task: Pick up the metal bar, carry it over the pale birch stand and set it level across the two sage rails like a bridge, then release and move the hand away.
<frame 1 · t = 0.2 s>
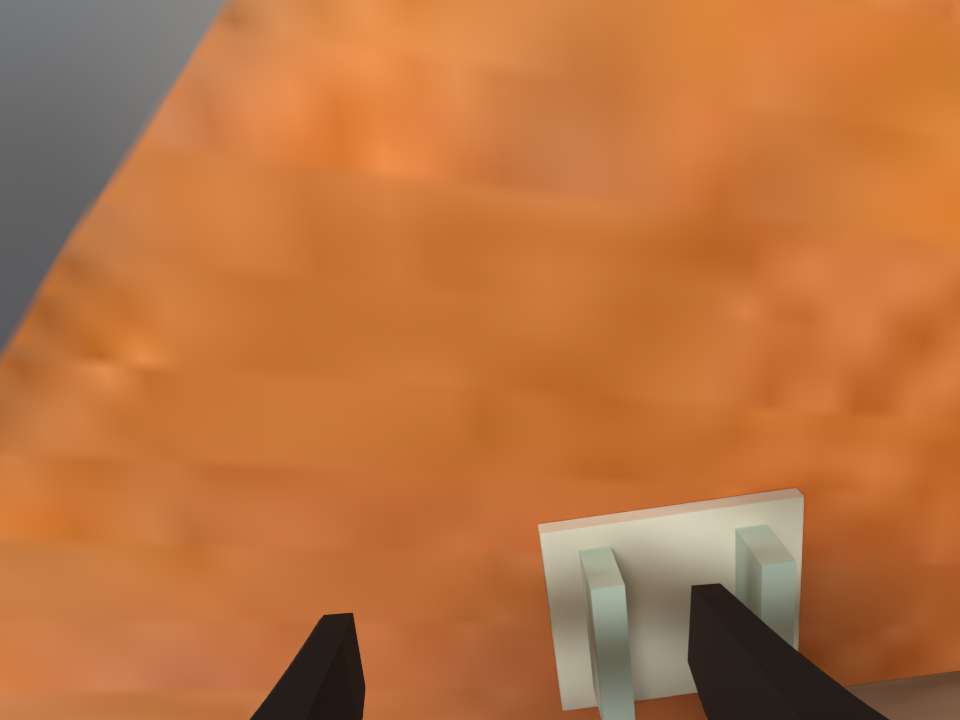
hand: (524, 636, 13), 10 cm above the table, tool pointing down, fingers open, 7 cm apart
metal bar: (851, 713, 28), on the table
rail stand: (670, 599, 25), on the table
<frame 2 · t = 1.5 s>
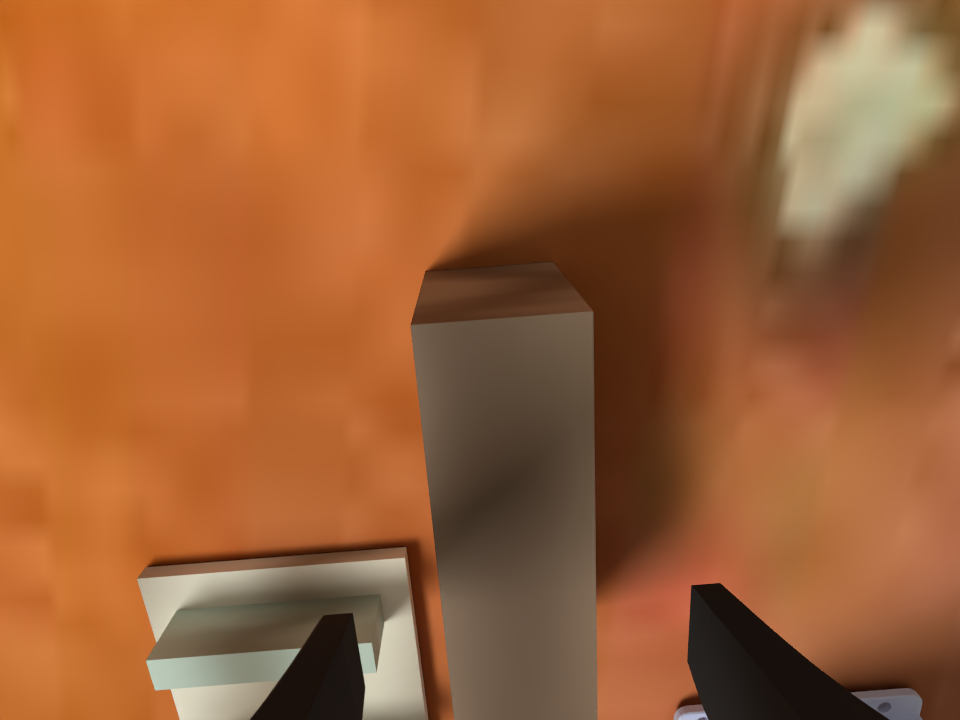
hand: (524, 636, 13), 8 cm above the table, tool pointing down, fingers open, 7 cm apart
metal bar: (501, 459, 21), on the table
rail stand: (300, 669, 23), on the table
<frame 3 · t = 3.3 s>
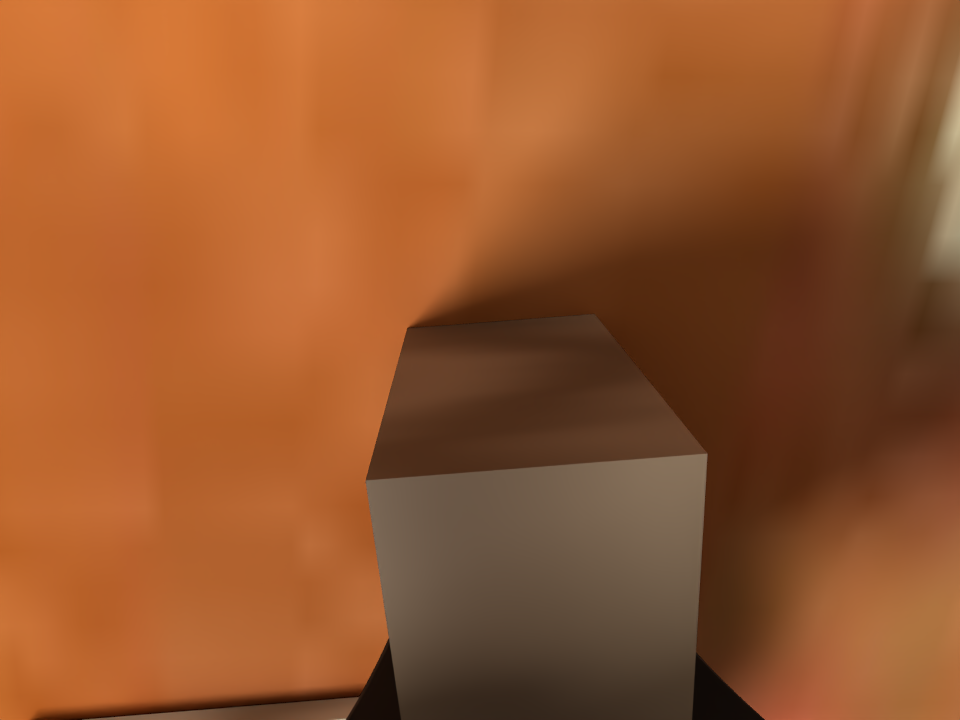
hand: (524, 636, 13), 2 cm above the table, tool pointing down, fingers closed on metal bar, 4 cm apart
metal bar: (517, 585, 15), on the table, touching gripper
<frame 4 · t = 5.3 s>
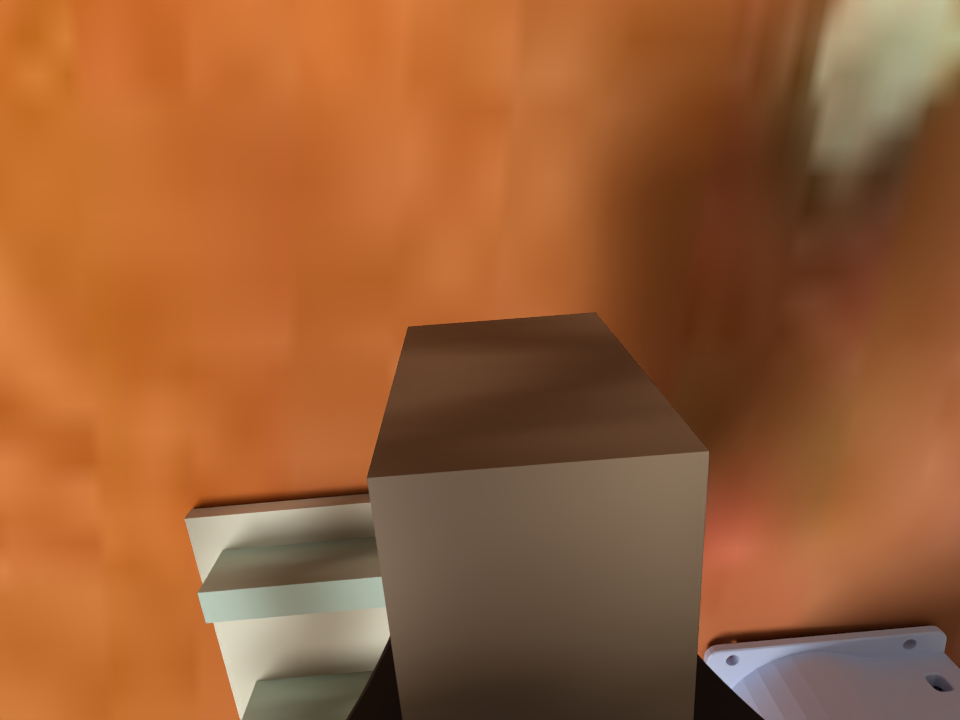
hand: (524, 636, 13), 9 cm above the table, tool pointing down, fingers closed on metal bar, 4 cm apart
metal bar: (517, 583, 15), point 7 cm above the table, touching gripper
rail stand: (340, 611, 24), on the table
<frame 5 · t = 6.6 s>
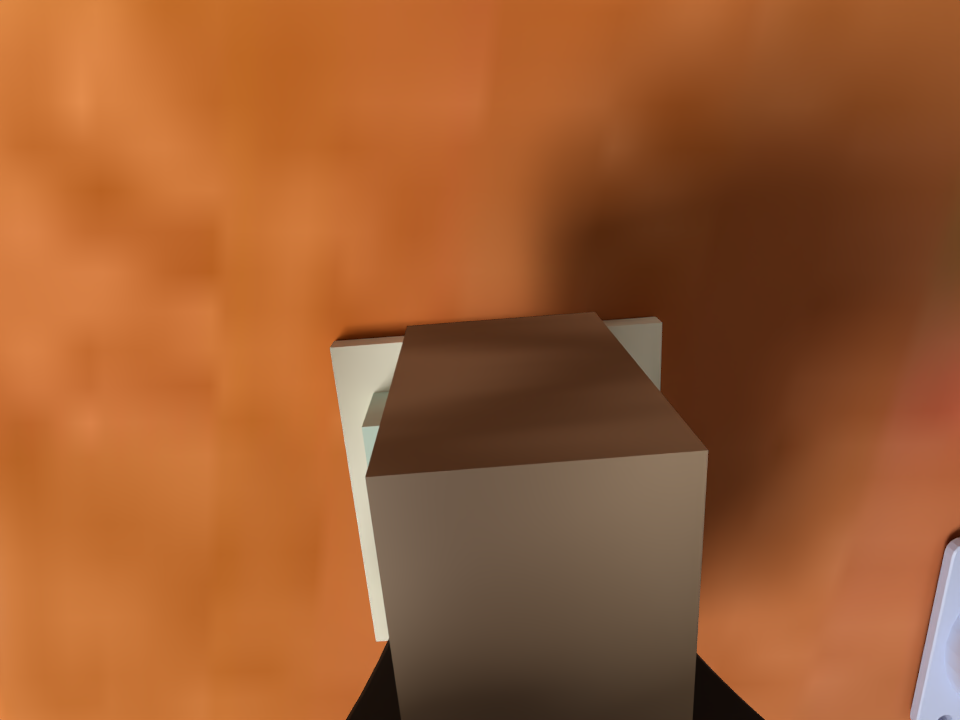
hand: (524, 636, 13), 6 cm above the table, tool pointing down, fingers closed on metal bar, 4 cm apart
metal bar: (517, 583, 15), point 5 cm above the table, touching gripper
rail stand: (505, 485, 19), on the table
when the fingers open (5 cm above the table, at t = 7.7 s): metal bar stays where it is, resting on rail stand.
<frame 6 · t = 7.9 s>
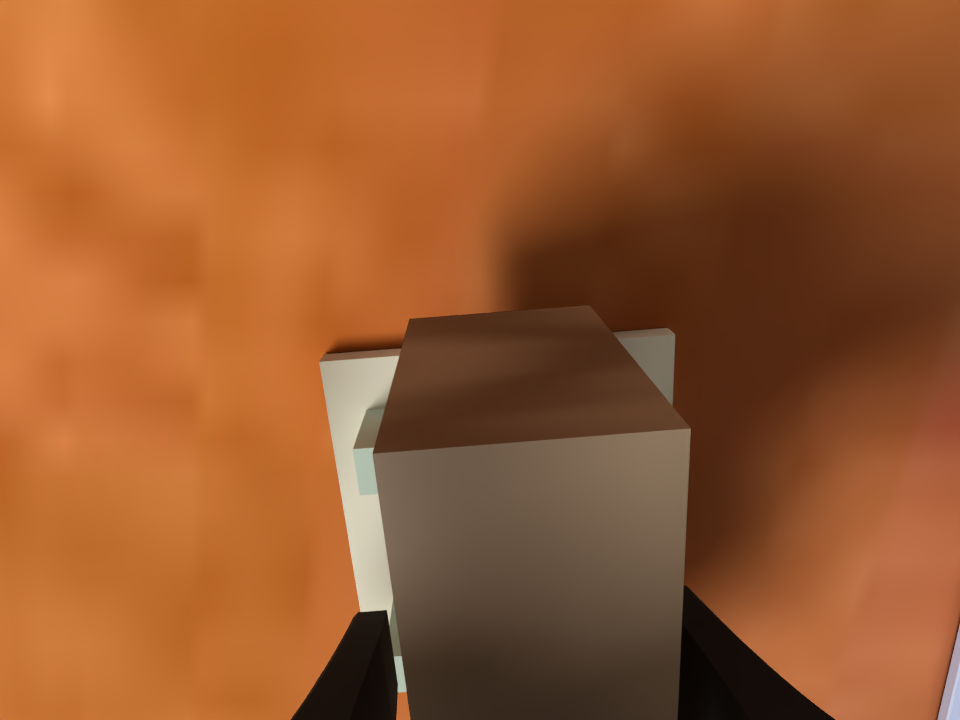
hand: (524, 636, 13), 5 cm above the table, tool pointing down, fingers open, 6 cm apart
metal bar: (515, 568, 15), point 3 cm above the table, touching rail stand
rail stand: (506, 506, 18), on the table
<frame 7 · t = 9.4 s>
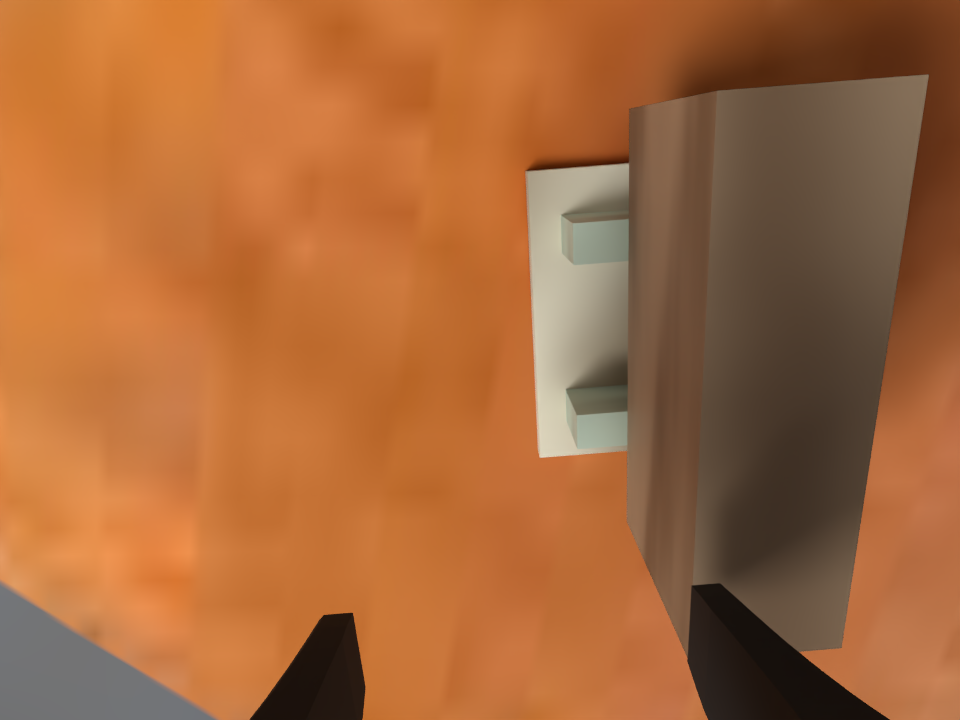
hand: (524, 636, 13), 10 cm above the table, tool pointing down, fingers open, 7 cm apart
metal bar: (690, 333, 19), point 3 cm above the table, touching rail stand
rail stand: (661, 311, 21), on the table
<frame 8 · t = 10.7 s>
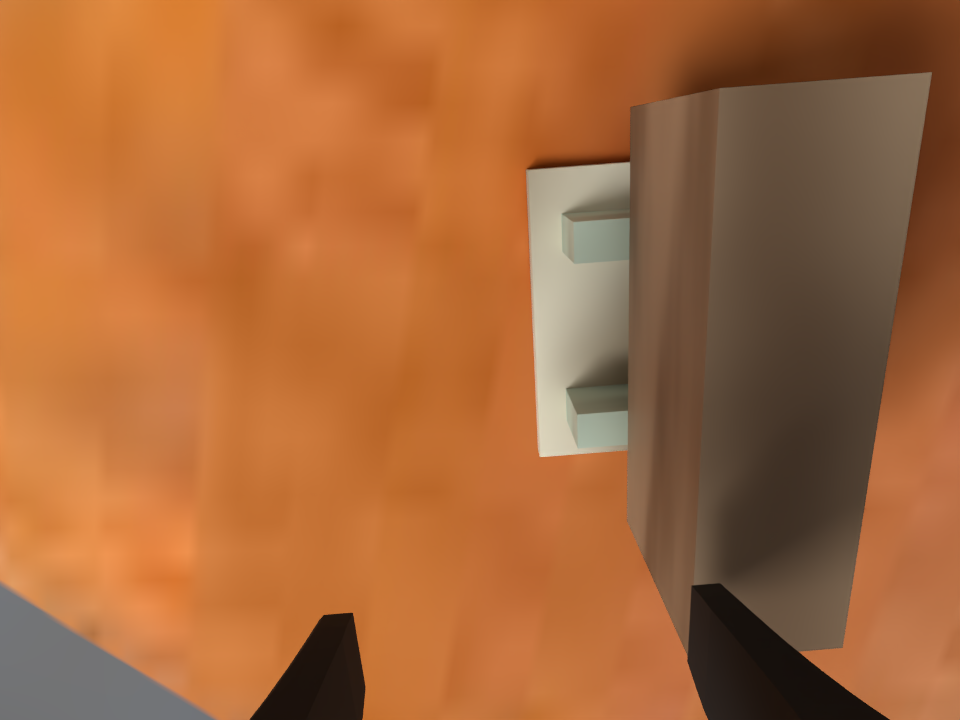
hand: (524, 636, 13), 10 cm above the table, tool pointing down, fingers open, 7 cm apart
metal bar: (690, 332, 19), point 3 cm above the table, touching rail stand
rail stand: (661, 310, 21), on the table
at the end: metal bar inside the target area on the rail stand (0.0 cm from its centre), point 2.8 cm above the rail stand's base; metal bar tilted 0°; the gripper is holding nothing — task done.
